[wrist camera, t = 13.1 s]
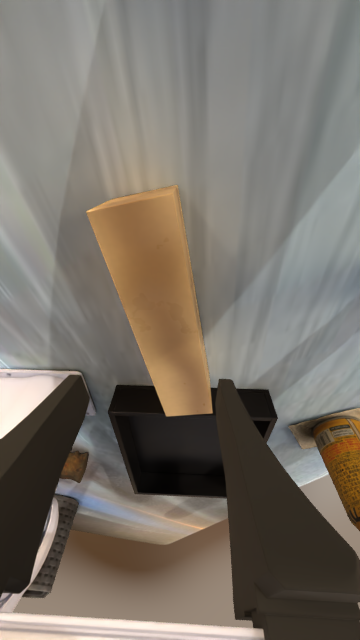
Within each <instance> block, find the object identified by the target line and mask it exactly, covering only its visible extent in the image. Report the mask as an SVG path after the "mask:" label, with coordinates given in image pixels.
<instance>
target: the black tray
mask: <svg viewBox="0 0 360 640" xmlns="http://www.w3.org/2000/svg"><path fill="white" fill-rule="evenodd" d="M217 389H218V388H211V400H212V412H213V413H210V414H196V415H181V416H166V415H165V412H164V410H163V407H162V404H161V402H160V399H159V397H158V394H157V392H156V389H155V387H154V386H130V385H117V386H116V389H115V392H114V395H113V398H112V401H111V404H110V407H109V410H108V414H109V417H110V420H111V423H112V426H113V429H114V432H115V435H116V438H117V441H118V444H119V447H120V451H121V454H122V457H123V460H124V463H125V466H126V469H127V472H128V475H129V478H130V481H131V484H132V487H133V490H134V493H135V494H146V495H167V496H188V497H209V498H227V493H226V480H225V473H224V466H223V460H222V454H221V447H220V441H219V435H218V429H217V422H216V406H215V402H216V395H217ZM236 390H237V392H238V394H239V396H240V399H241V401H242V403H243V405H244V406H245V408H246V410H247V412H248V414H249V416H250V417H251V419H252V421H253V423H254V424H255V426H256V428H257V429H258V431H259V433H260V434H261V436H262V437H263V439H264V441H265V442H266V443H267V441H268V439H269V436H270V434H271V432H272V430H273V428H274V425H275V423H276V421H277V419H278V417H277V414H276V411H275V408H274V405H273V402H272V399H271V396H270V393H269V390H256V389H236Z"/></svg>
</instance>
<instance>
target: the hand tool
mask: <svg viewBox="0 0 360 640" xmlns="http://www.w3.org/2000/svg"><path fill="white" fill-rule="evenodd" d="M88 456H89V454H88V452H87V453H84V454H81V453H79V452H78V451H76V452H75V453H69V455H68V458H67V460H66V462H65V465H64V468H63V470H62V473H61V476H60V478H62V479H72V480H74V481H76V482H78V483H80V482H81V480H82V477H83V475H84V473H85V470H86V467H87V462H88Z"/></svg>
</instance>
